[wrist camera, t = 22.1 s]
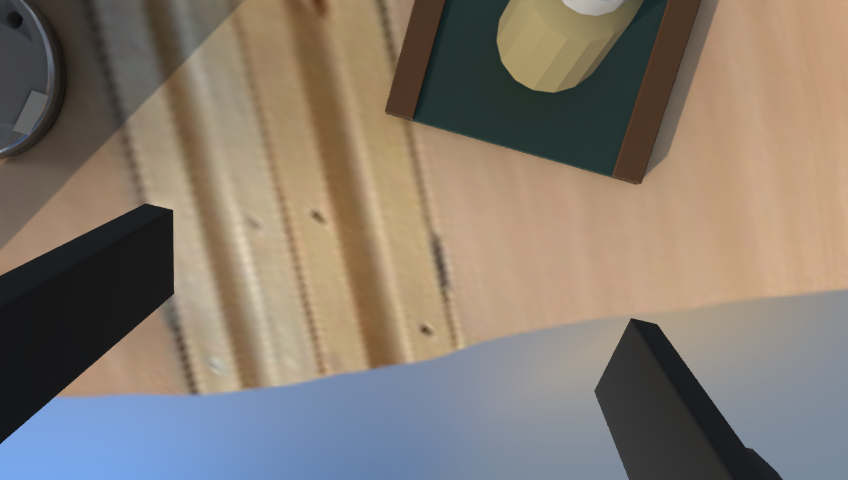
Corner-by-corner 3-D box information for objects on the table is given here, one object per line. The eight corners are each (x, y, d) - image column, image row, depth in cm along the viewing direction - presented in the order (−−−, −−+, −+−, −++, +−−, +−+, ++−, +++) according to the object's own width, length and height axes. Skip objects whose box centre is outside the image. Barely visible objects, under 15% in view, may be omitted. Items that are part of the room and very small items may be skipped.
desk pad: (386, 113, 37) (384, 111, 37) (438, -79, 36) (438, -86, 35) (636, 184, 37) (641, 184, 36) (698, -7, 36) (705, -12, 35)
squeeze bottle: (488, 6, 36) (536, -193, 18) (588, -2, 36) (740, -212, 18) (493, 107, 37) (544, 13, 19) (592, 100, 36) (741, -3, 18)
